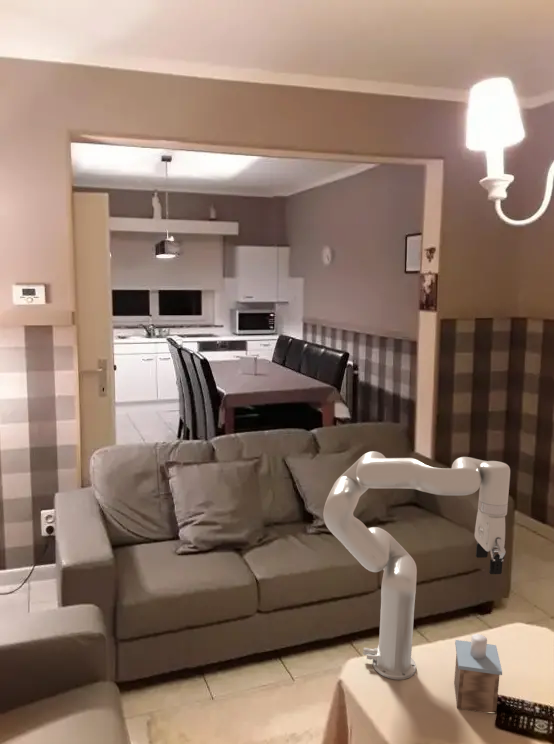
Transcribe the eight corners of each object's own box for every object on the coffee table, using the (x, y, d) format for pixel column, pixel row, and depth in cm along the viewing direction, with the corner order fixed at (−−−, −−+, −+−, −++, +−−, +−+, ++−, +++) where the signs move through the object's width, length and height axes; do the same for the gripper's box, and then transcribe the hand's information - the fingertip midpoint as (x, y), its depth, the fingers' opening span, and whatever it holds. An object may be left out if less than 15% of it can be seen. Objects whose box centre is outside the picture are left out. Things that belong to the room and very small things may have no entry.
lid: (458, 671, 170) (460, 648, 169) (455, 645, 182) (456, 623, 180) (501, 677, 168) (503, 654, 167) (495, 650, 179) (497, 628, 178)
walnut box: (457, 708, 172) (460, 668, 170) (454, 682, 183) (457, 644, 181) (495, 714, 170) (499, 673, 168) (490, 687, 181) (494, 649, 179)
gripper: (467, 495, 183) (464, 551, 186) (491, 519, 166) (487, 580, 169) (493, 495, 183) (489, 551, 186) (520, 519, 166) (514, 580, 169)
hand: (488, 565), depth 178 cm, fingers open, 9 cm apart
